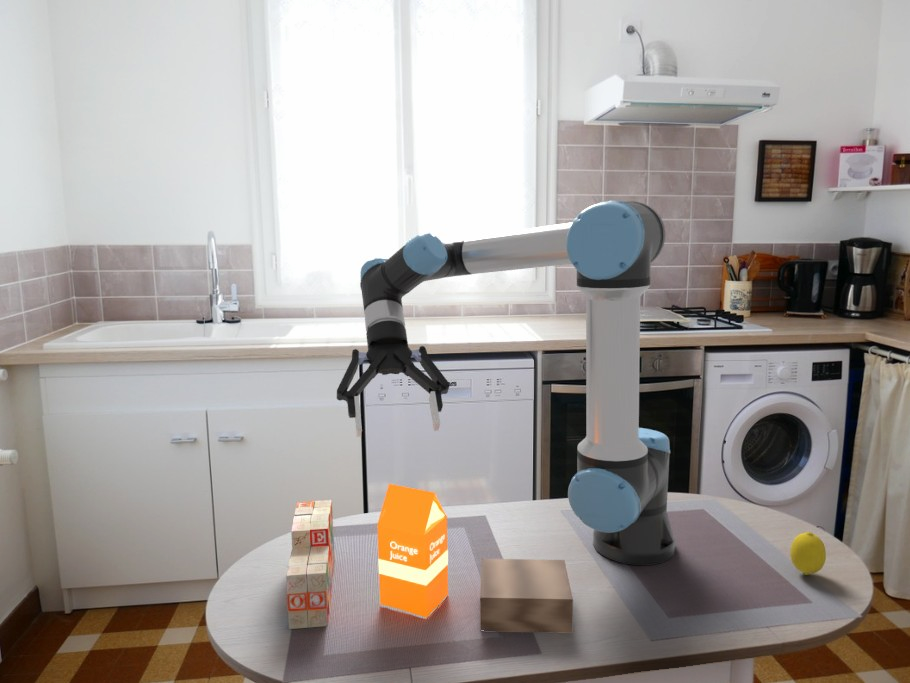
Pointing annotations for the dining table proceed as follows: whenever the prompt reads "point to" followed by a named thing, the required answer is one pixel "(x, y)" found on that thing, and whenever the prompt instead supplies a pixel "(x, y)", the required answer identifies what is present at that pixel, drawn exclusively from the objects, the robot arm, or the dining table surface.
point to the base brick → (525, 596)
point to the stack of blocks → (310, 565)
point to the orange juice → (412, 550)
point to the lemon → (808, 553)
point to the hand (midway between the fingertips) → (398, 430)
